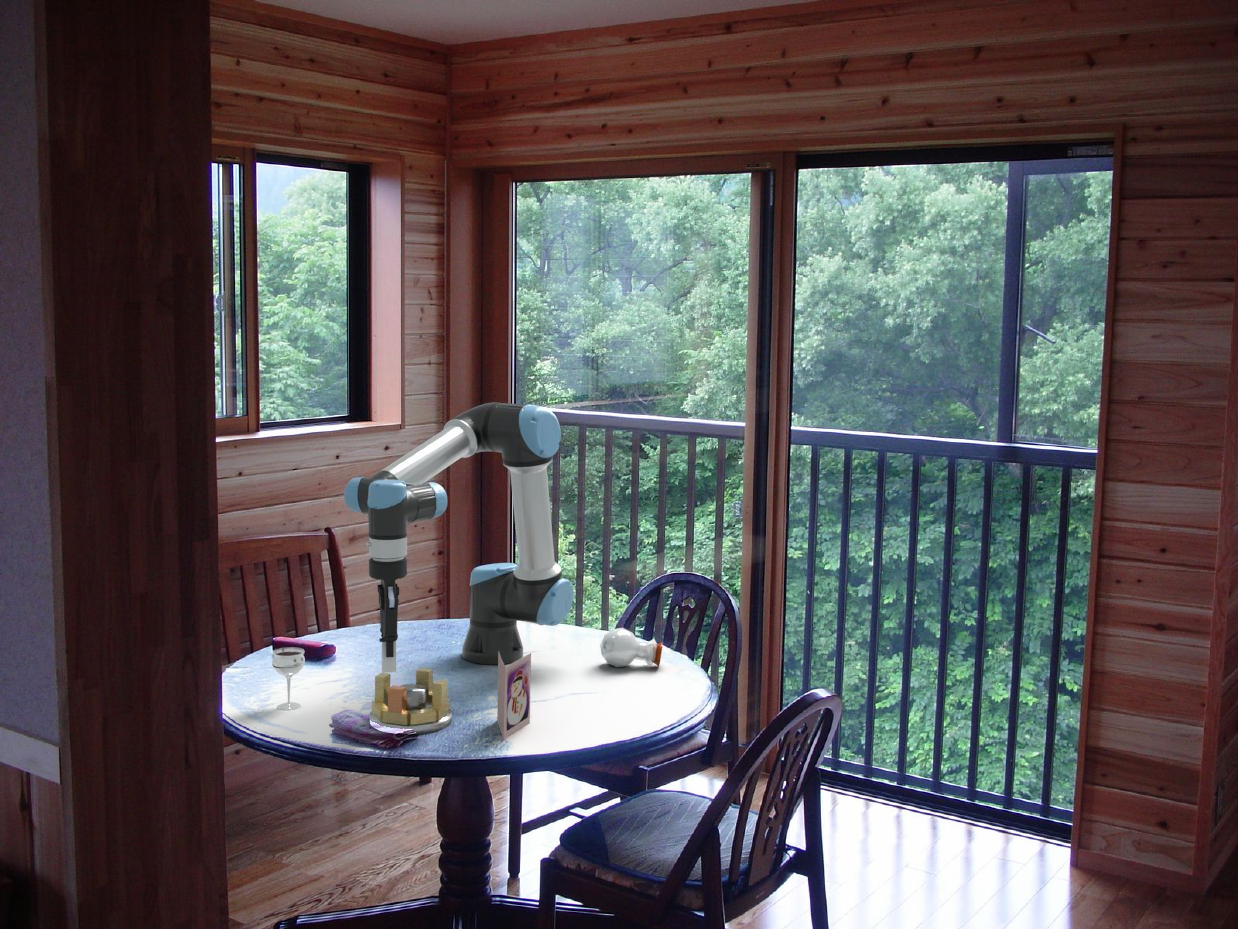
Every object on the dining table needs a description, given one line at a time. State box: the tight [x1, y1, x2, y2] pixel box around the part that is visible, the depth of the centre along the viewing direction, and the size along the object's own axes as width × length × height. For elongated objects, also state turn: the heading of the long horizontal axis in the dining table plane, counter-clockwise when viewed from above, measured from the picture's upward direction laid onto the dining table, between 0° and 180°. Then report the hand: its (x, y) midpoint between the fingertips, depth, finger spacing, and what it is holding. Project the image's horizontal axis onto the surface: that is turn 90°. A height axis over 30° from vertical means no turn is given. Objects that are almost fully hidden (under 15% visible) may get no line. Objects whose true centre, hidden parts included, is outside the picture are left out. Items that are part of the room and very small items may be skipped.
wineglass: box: [271, 647, 306, 711], centre depth 255 cm, size 7×7×12 cm
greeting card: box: [496, 651, 532, 740], centre depth 245 cm, size 11×7×15 cm, turn 157°
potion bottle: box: [599, 627, 663, 668], centre depth 292 cm, size 9×10×15 cm
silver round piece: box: [368, 683, 453, 735], centre depth 248 cm, size 17×17×7 cm
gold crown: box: [371, 667, 451, 725], centre depth 248 cm, size 15×15×7 cm
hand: (389, 670), depth 243 cm, fingers closed
